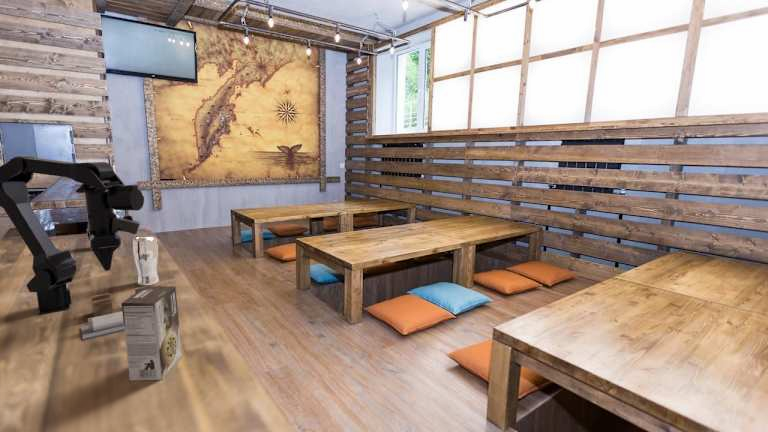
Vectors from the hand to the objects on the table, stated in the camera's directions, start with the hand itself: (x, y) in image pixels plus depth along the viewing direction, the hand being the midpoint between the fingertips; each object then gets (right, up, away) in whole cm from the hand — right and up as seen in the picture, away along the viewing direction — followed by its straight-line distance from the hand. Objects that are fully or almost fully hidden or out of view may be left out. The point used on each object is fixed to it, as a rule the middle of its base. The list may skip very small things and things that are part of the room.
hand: (106, 266), depth 105 cm
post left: (0, -13, -1) cm, 13 cm away
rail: (+11, -13, -6) cm, 18 cm away
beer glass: (-3, -9, +23) cm, 25 cm away
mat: (+11, -14, -6) cm, 18 cm away
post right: (+8, -12, +5) cm, 15 cm away
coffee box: (+29, -18, -26) cm, 43 cm away
